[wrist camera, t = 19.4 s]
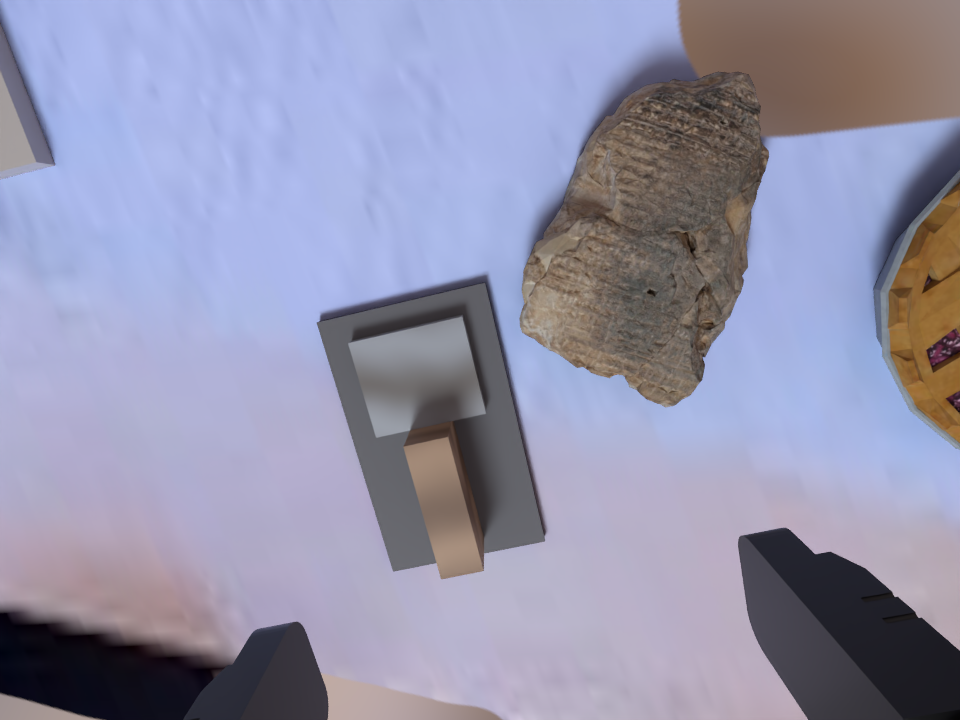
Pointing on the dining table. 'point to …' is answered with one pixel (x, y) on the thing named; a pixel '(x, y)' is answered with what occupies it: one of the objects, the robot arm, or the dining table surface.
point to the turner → (429, 426)
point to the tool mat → (482, 438)
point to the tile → (18, 122)
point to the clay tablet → (651, 236)
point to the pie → (925, 313)
